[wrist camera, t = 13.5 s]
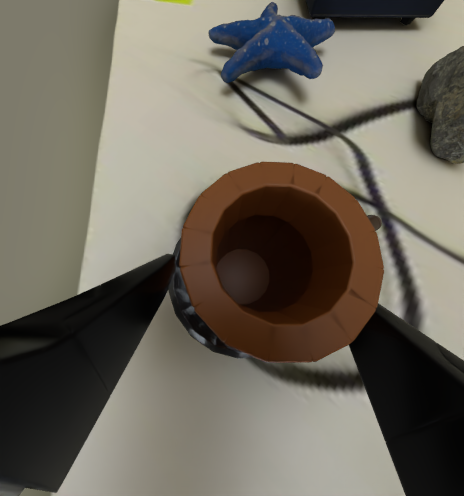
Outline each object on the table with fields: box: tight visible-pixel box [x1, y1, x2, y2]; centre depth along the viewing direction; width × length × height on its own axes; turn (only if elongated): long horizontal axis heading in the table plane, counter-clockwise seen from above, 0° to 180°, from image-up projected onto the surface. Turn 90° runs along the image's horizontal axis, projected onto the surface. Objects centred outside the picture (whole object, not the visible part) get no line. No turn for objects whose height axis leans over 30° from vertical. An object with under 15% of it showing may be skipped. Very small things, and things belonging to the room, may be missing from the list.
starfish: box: [209, 2, 335, 83], centre depth 24 cm, size 19×19×5 cm
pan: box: [168, 238, 252, 358], centre depth 17 cm, size 14×14×4 cm
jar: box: [179, 162, 384, 363], centre depth 12 cm, size 6×6×13 cm
